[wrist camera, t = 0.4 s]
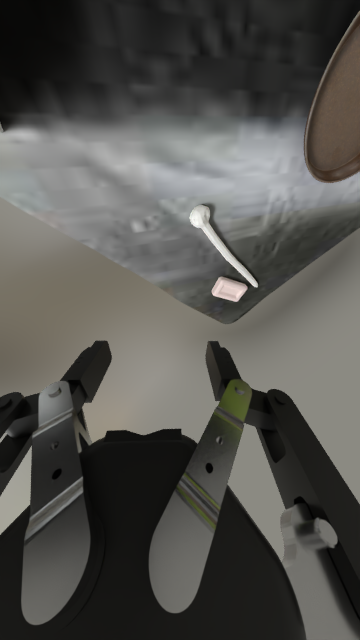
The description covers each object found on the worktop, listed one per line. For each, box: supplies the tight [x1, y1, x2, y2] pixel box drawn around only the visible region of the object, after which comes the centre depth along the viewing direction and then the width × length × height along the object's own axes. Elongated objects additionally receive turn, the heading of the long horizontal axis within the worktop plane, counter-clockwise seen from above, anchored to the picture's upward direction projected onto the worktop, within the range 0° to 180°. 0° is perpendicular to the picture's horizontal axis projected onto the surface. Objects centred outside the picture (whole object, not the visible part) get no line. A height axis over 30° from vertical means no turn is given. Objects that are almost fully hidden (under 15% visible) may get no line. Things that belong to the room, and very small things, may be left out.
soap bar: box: [211, 276, 247, 302], centre depth 43 cm, size 5×9×2 cm, turn 69°
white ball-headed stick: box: [190, 205, 258, 287], centre depth 36 cm, size 28×4×3 cm, turn 49°
